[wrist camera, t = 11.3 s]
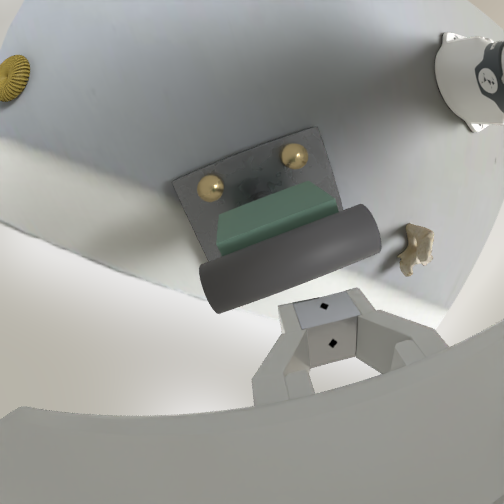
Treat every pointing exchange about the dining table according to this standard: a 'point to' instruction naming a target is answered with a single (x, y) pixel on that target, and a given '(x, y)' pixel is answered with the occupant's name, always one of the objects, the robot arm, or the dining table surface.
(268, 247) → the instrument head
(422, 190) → the dining table surface
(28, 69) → the sculpture
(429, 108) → the dining table surface
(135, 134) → the dining table surface
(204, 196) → the plate
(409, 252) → the bone
